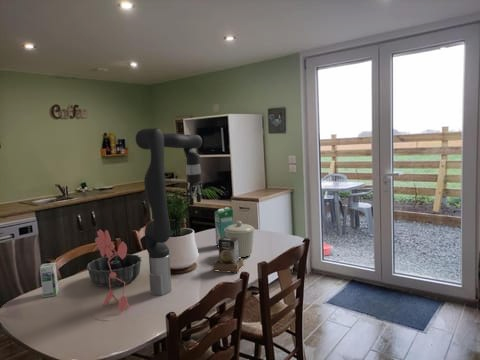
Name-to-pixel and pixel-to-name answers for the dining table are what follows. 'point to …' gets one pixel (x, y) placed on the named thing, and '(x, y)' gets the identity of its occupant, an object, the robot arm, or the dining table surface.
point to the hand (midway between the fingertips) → (195, 203)
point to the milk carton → (222, 222)
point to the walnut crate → (228, 266)
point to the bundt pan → (114, 270)
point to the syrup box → (49, 279)
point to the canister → (241, 237)
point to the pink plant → (105, 248)
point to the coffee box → (228, 250)
